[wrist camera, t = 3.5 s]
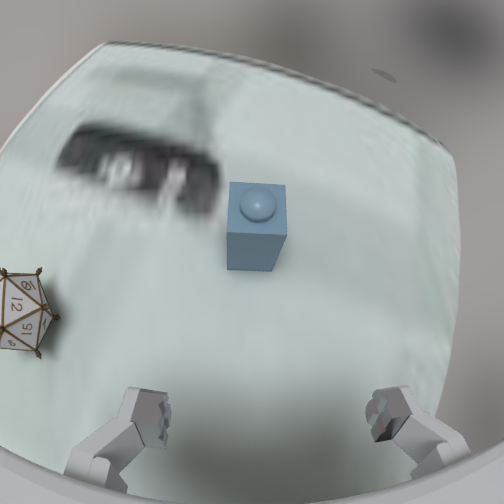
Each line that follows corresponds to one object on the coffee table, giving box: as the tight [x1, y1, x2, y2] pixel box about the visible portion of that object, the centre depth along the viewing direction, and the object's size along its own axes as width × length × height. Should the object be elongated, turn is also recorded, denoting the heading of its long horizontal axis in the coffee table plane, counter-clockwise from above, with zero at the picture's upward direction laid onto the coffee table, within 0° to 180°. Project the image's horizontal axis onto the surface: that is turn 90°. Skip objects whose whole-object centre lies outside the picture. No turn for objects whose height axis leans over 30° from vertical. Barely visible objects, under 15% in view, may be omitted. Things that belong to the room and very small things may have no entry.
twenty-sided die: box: [0, 267, 60, 359], centre depth 20 cm, size 9×8×10 cm
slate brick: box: [227, 182, 287, 271], centre depth 24 cm, size 4×4×9 cm
